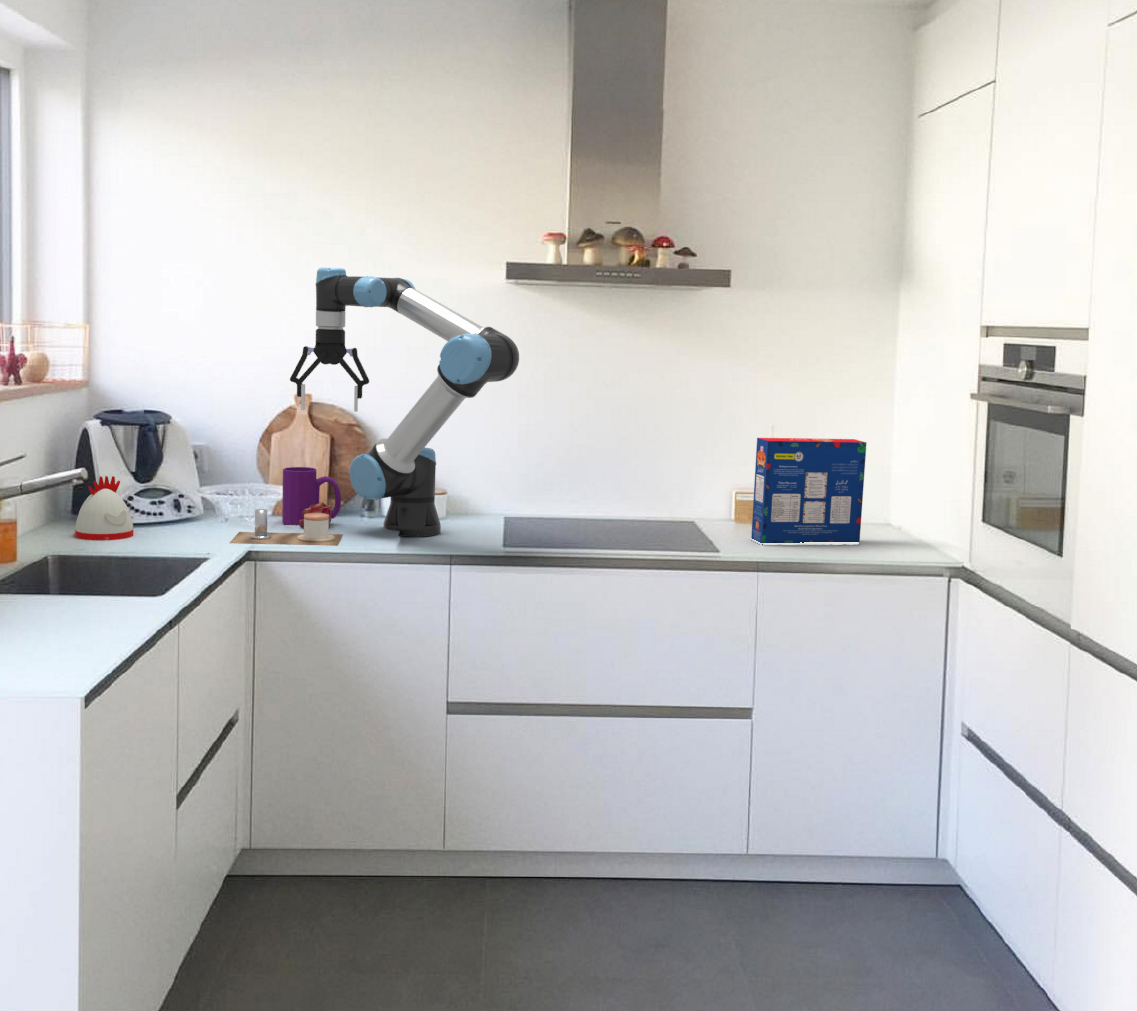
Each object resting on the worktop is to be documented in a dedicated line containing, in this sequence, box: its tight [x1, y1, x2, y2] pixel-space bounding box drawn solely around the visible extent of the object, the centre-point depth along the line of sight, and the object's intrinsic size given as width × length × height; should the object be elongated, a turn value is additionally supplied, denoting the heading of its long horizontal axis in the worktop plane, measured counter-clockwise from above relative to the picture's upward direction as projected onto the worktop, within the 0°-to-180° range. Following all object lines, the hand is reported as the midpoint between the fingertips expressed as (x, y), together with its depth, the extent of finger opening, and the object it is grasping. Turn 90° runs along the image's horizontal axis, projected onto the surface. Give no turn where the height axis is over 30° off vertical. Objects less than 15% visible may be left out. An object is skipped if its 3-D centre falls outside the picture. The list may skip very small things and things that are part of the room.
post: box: [251, 508, 271, 540], centre depth 345 cm, size 5×5×7 cm
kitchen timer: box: [74, 475, 134, 541], centre depth 349 cm, size 14×14×15 cm
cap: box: [303, 513, 330, 539], centre depth 347 cm, size 6×6×6 cm
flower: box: [298, 502, 333, 528], centre depth 365 cm, size 10×9×8 cm
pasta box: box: [750, 437, 867, 543], centre depth 376 cm, size 28×8×28 cm, turn 103°
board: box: [229, 531, 344, 547], centre depth 347 cm, size 26×16×2 cm, turn 95°
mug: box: [281, 466, 342, 526], centre depth 376 cm, size 9×16×15 cm, turn 97°
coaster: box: [298, 534, 335, 542], centre depth 347 cm, size 9×9×1 cm
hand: (329, 410), depth 364 cm, fingers open, 13 cm apart
